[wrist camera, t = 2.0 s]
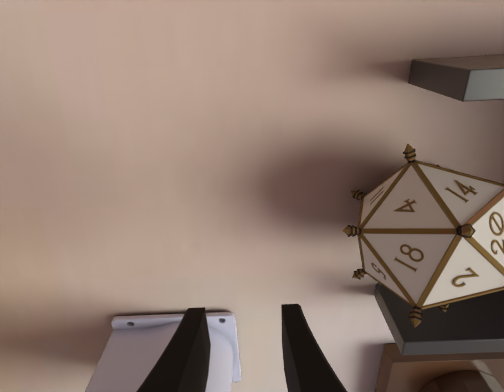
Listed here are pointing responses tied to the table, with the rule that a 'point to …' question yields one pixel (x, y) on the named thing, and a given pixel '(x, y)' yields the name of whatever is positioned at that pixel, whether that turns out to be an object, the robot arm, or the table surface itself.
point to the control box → (440, 372)
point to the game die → (432, 235)
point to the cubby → (472, 309)
